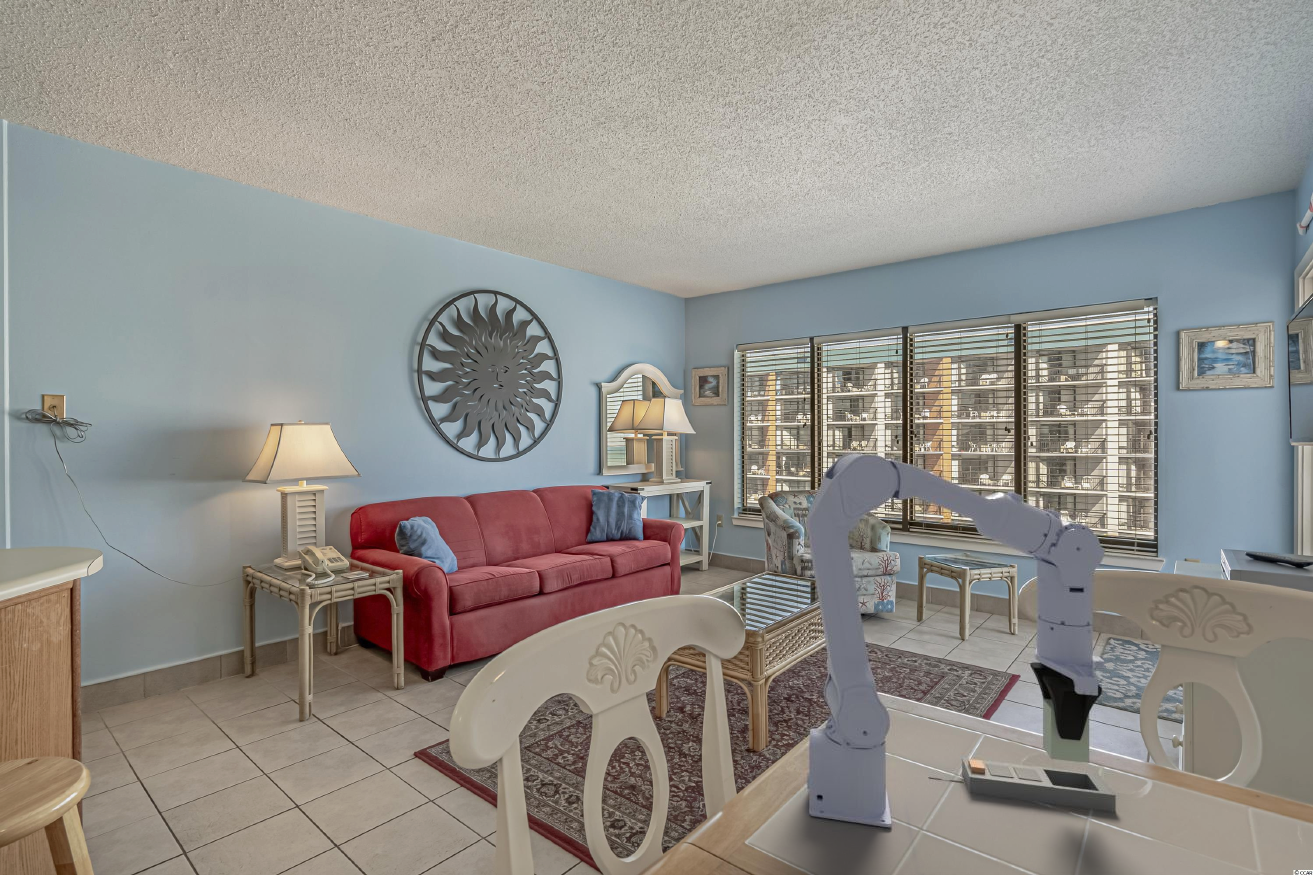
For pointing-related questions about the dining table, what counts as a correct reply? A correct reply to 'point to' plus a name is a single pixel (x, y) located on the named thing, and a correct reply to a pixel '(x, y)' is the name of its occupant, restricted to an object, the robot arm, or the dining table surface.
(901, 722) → the dining table surface
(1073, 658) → the robot arm
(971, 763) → the power strip
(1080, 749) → the charger
